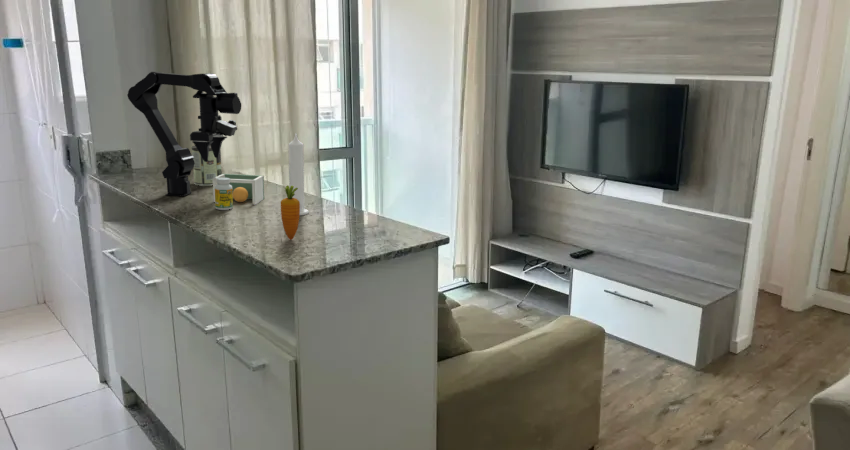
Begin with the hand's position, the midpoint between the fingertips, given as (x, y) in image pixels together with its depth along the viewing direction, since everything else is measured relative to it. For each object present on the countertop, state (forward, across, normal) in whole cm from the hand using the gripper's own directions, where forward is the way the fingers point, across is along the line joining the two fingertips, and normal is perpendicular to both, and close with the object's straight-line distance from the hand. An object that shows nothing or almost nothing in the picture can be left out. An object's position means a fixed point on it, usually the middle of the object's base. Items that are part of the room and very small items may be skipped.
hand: (211, 159), depth 209 cm
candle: (+13, -16, -33) cm, 39 cm away
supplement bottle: (+13, -15, -9) cm, 22 cm away
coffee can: (+13, +23, +11) cm, 29 cm away
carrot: (+13, -46, -39) cm, 62 cm away
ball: (+10, -5, -11) cm, 16 cm away
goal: (+13, -3, -10) cm, 17 cm away
